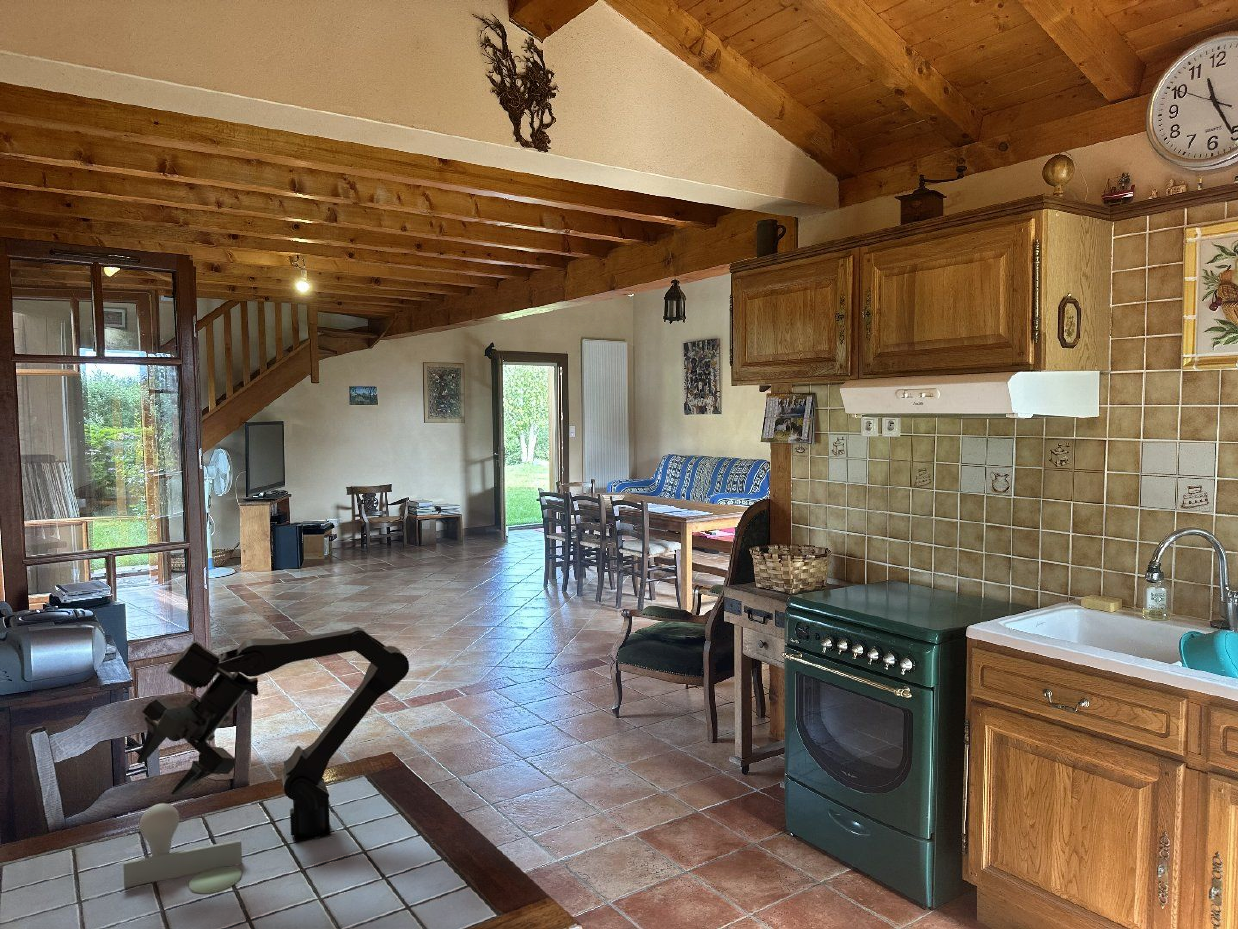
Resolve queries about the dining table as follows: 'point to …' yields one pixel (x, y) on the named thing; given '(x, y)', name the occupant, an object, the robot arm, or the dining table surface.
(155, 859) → the grey-green flat bar
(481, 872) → the dining table surface
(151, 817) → the lightbulb
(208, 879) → the pad
